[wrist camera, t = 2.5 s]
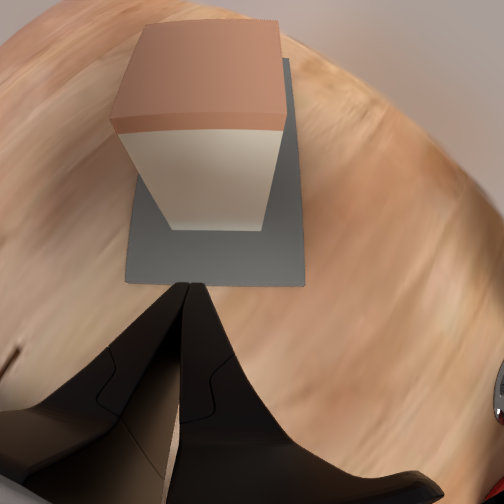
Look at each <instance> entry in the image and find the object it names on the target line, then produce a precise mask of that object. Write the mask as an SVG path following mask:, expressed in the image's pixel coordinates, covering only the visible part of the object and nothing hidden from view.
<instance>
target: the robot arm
mask: <svg viewBox="0 0 504 504" xmlns="http://www.w3.org/2000/svg"><path fill="white" fill-rule="evenodd" d="M108 347H109V348H108ZM108 347H106V348H105V349H104V350H103V351H102V352H101V353H100V354H99V355H98V356H97V357H96V358H95V359H94V360H92V361H91V362H90V363H89V364H88V365H87V366H86V367H85V368H83V369H82V370H81V371H80V372H78V373H77V374H76V375H75V376H74V377H72V378H71V379H70V380H68V381H67V382H66V383H65V384H63V385H62V386H61V387H60V388H58V389H57V390H56V391H54V392H53V393H52V394H51V395H49V396H48V397H47V398H46V399H44V400H43V401H41V402H40V403H38V404H37V405H35V406H33V407H30V408H27V409H22V410H14V411H3V412H0V504H161V499H162V493H163V487H164V480H165V474H166V468H167V463H168V457H169V451H170V446H171V441H172V435H173V430H174V425H175V419H176V414H177V409H178V404H179V424H180V433H179V446H178V451H177V455H176V459H175V464H174V468H173V473H172V477H171V481H170V486H169V490H168V495H167V500H166V504H433V503H435V502H436V501H438V500H440V499H441V498H443V497H444V495H445V494H444V492H443V491H442V489H441V488H440V487H439V486H438V485H437V484H436V483H435V482H434V481H433V480H431V479H430V478H428V477H427V476H425V475H424V474H422V473H421V472H419V471H405V472H401V473H396V474H393V475H389V476H385V477H380V478H362V477H357V476H353V475H351V474H349V473H346V472H344V471H343V470H341V469H339V468H337V467H335V466H334V465H332V464H330V463H328V462H326V461H325V460H323V459H321V458H320V457H318V456H316V455H314V454H313V453H311V452H309V451H308V450H306V449H305V448H303V447H301V446H300V445H298V444H297V443H296V442H294V441H293V440H292V439H291V438H290V437H289V436H288V435H287V434H286V432H285V431H284V430H283V429H282V428H281V426H280V425H279V424H278V422H277V421H276V420H275V418H274V417H273V415H272V414H271V413H270V411H269V410H268V409H267V407H266V406H265V404H264V403H263V402H262V400H261V399H260V397H259V396H258V394H257V393H256V391H255V390H254V388H253V387H252V385H251V384H250V382H249V380H248V379H247V377H246V375H245V373H244V371H243V369H242V367H241V365H240V363H239V361H238V359H237V357H236V356H235V353H234V350H233V348H232V346H231V344H230V341H229V339H228V337H227V335H226V332H225V330H224V328H223V326H222V323H221V321H220V319H219V316H218V314H217V312H216V309H215V307H214V305H213V302H212V300H211V298H210V295H209V293H208V290H207V288H206V286H205V284H204V283H203V282H192V283H191V284H190V283H189V282H176V283H175V284H174V285H172V286H171V287H170V288H169V289H168V290H167V291H166V292H165V293H164V294H163V295H162V296H160V297H159V298H158V299H157V300H156V301H155V302H154V303H153V304H152V305H151V306H150V307H149V308H148V309H147V310H145V311H144V312H143V313H142V314H141V315H140V316H139V317H138V318H137V319H136V320H135V321H134V322H133V323H132V324H131V325H129V326H128V327H127V328H126V329H125V330H124V331H123V332H122V333H121V334H120V335H119V336H118V337H117V338H116V339H115V340H114V341H113V342H112V343H111V344H110V345H109V346H108ZM480 504H504V490H502V491H501V492H499V493H497V494H496V495H494V496H492V497H491V498H489V499H487V500H485V501H484V502H482V503H480Z"/></svg>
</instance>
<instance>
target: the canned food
mask: <svg viewBox="0 0 504 504" xmlns="http://www.w3.org/2000/svg"><path fill="white" fill-rule="evenodd" d="M502 490H504V478H502V479H501V480H500V481H499V482H498V483H497V485H496V486H495V487H494V488H493V489H492V490H491V492H490V493H489V494H488V496H487V497H486V498H485V500H487V499H489V498H491V497H492V496H494V495H496V494H497V493H499V492H501V491H502ZM485 500H484V501H485Z"/></svg>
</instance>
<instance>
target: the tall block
mask: <svg viewBox="0 0 504 504" xmlns="http://www.w3.org/2000/svg"><path fill="white" fill-rule="evenodd" d="M286 117H287V106H286V94H285V83H284V72H283V61H282V51H281V42H280V33H279V24H278V21H274V20H257V19H205V20H187V21H175V22H165V23H156V24H149V25H145V28H144V30H143V32H142V34H141V36H140V38H139V41H138V43H137V45H136V47H135V50H134V52H133V55H132V57H131V59H130V62H129V64H128V67H127V69H126V72H125V75H124V77H123V80H122V82H121V85H120V88H119V91H118V94H117V96H116V99H115V102H114V105H113V108H112V111H111V114H110V118H109V120H110V121H111V123H112V125H113V127H114V129H115V131H116V133H117V135H118V136H119V138H120V140H121V142H122V144H123V146H124V147H125V149H126V151H127V153H128V155H129V156H130V158H131V160H132V162H133V164H134V165H135V167H136V169H137V171H138V172H139V174H140V176H141V178H142V180H143V181H144V183H145V185H146V186H147V188H148V190H149V192H150V193H151V195H152V197H153V199H154V200H155V202H156V204H157V205H158V207H159V209H160V210H161V212H162V214H163V215H164V217H165V219H166V220H167V222H168V224H169V225H170V227H171V229H172V230H222V231H261V229H262V224H263V220H264V215H265V211H266V207H267V202H268V198H269V193H270V189H271V184H272V180H273V175H274V171H275V166H276V162H277V157H278V153H279V148H280V144H281V140H282V135H283V131H284V126H285V122H286Z"/></svg>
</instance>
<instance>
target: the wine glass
mask: <svg viewBox="0 0 504 504" xmlns="http://www.w3.org/2000/svg"><path fill="white" fill-rule="evenodd" d="M493 406H494V413H495V416H496V419H497V420H498V422H499V423H500V424H502V425H504V361H503V363H502V365H501V368H500V370H499V373H498V376H497V380H496V384H495V389H494V398H493Z"/></svg>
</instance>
